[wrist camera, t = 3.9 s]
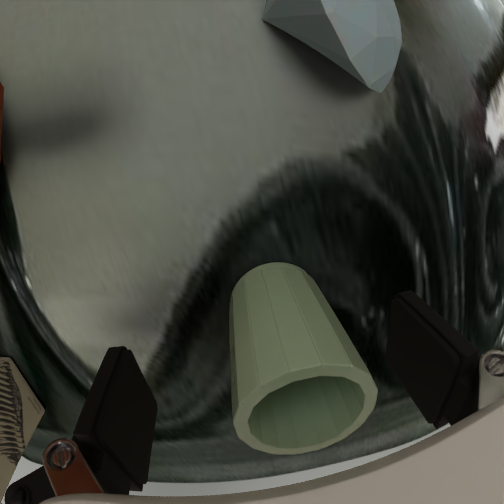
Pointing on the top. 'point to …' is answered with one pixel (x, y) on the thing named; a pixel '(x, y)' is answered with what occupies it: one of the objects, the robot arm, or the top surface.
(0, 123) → the mug
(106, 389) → the robot arm
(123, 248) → the top surface
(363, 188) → the top surface
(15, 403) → the box
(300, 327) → the cup
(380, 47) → the gemstone
